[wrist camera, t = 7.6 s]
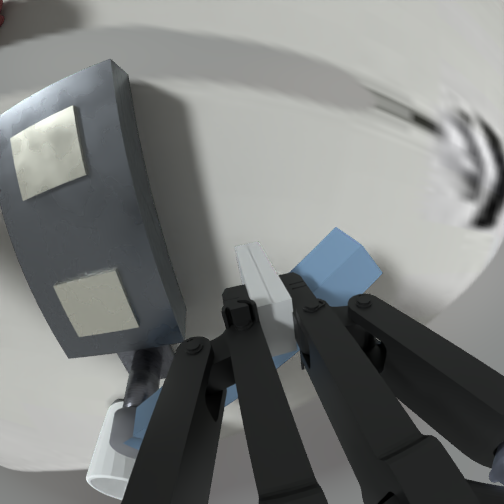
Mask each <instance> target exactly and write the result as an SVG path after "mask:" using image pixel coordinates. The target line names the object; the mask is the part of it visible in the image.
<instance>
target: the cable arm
mask: <svg viewBox="0 0 504 504" xmlns="http://www.w3.org/2000/svg"><path fill="white" fill-rule="evenodd" d="M291 272H294V273H296V274H298V275H300V276H301V277H302V279H303V280H304V282H305V283H306V284H307V286H308V287H309V288H310V290H311V291H312V292H313V294H314V295H315V297H316V298H319V299H322V300H324V301H326V302H327V303H328V304H329V306H332V307H338V306H348V301H349V299H350V298H351V297H352V296H354V295H357V294H362V293H364V292H365V291H366V290H367V289H368V288H369V287H370V286H371V285H372V284H373V283H374V282H375V281H376V279H377V278H378V277H379V276H380V275H381V274H382V271H381V270H380V269H379V267H378V266H377V265H376V263H375V262H374V260H373V259H372V258H371V256H370V255H369V254H368V252H367V251H366V250H365V248H364V247H363V246H362V245H361V244H360V243H359V242H357V241H356V240H354V239H353V238H351V237H350V236H348V235H347V234H346V233H344V232H343V231H341V230H340V229H338V228H337V227H335V228H334V229H333V230H332V231H331V232H330V233H329V234H328V235H327V236H326V237H325V238H324V239H323V240H322V241H321V242H320V243H319V244H318V245H317V246H316V247H315V248H314V249H313V250H312V251H311V252H310V253H309V254H308V255H307V256H306V257H305V258H304V259H303V260H302V261H301V262H300V263H299V264H298V265H297V266H296V267H295V268H294V269H293V270H291V271H290V272H289V273H291ZM296 343H297V342H296ZM299 350H300V348H299V346H298V344H297V350H296V351H292V352H289V353H285V354H281V355H277V356H274V357H272V359H273V361H274V364H275V367H276V369H277V368H278V367H280V366H281V365H282V364H283V363H285V362H286V361H287V360H288V359H290V358H291V357H292V356H293V355H295V354H296V353H297V352H298V351H299ZM162 387H163V386H162ZM162 387H161V388H160V389H159V390H157V391H156V392H155V393H154V394H153V395H151V396H150V397H149V398H148V399H147V400H145V401H144V402H143V403H142V404H140V405H139V406H138V407H137V408H136V407H123V408H120V409H118V410H117V411H116V412H115V414H114V418H113V424H112V429H111V434H110V440H109V444H110V446H111V447H112V448H113V449H114V450H115V451H117V452H118V453H120V454H122V455H124V456H127V457H130V458H133V459H136V458H137V455H138V452H139V449H140V446H141V443H142V441H143V438H144V435H145V432H146V429H147V427H148V424H149V421H150V419H151V416H152V413H153V410H154V408H155V405H156V402H157V400H158V397H159V394H160V392H161V389H162ZM237 398H238V394H237V388H236V384H234V385H232V386H230V387H228V388H227V395H226V400H225V406H227V405H228V404H230V403H231V402H233V401H234V400H235V399H237ZM225 406H224V407H225Z"/></svg>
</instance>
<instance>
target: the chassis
mask: <svg viewBox="0 0 504 504" xmlns="http://www.w3.org/2000/svg"><path fill="white" fill-rule="evenodd" d="M0 206H1V209H2V213H3V216H4V220H5V223H6V226H7V230H8V233H9V236H10V239H11V242H12V244H13V247H14V250H15V253H16V255H17V258H18V261H19V263H20V266H21V268H22V271H23V273H24V275H25V278H26V280H27V282H28V284H29V287H30V289H31V291H32V293H33V295H34V297H35V299H36V302H37V304H38V306H39V308H40V310H41V311H42V313H43V315H44V317H45V319H46V321H47V323H48V325H49V326H50V328H51V330H52V332H53V334H54V335H55V337H56V339H57V340H58V342H59V344H60V345H61V347H62V349H63V350H64V352H65V354H66V355H67V357H68V358H78V357H88V356H96V355H104V354H112V353H120V352H127V351H133V350H140V349H146V348H152V347H158V346H164V345H170V344H175V343H181V342H183V341H185V321H186V307H185V304H184V301H183V298H182V295H181V292H180V289H179V286H178V283H177V280H176V277H175V274H174V271H173V268H172V265H171V261H170V258H169V255H168V251H167V248H166V245H165V241H164V238H163V234H162V231H161V227H160V223H159V220H158V216H157V212H156V209H155V205H154V201H153V197H152V193H151V189H150V185H149V181H148V177H147V172H146V168H145V163H144V159H143V154H142V150H141V145H140V140H139V135H138V130H137V125H136V119H135V114H134V108H133V102H132V96H131V90H130V84H129V77H128V74H127V73H126V72H125V71H124V70H122V69H121V68H120V67H119V66H118V65H117V64H116V63H115V62H114V61H112V60H111V59H108V60H106V61H103V62H101V63H98V64H95V65H93V66H90V67H88V68H86V69H84V70H81V71H79V72H76V73H74V74H72V75H70V76H68V77H66V78H64V79H62V80H60V81H57V82H56V83H54V84H52V85H50V86H48V87H46V88H44V89H42V90H40V91H39V92H37V93H35V94H33V95H32V96H30V97H28V98H26V99H25V100H23V101H21V102H20V103H18V104H17V105H15V106H13V107H12V108H10V109H9V110H7V111H6V112H4V113H3V114H1V115H0Z"/></svg>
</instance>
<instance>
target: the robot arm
mask: <svg viewBox="0 0 504 504" xmlns="http://www.w3.org/2000/svg"><path fill="white" fill-rule="evenodd" d="M235 252H236V257H237V262H238V266H239V271H240V276H241V280H242V285H239V286H235V287H231V288H226V289H225V290H224V292H223V294H222V297H223V304H224V306H223V308H222V316H223V319H224V323H225V326H226V330H225V331H224V333H223V334H222V335H220V336H219V337H217V338H216V339H214V340H211V341H209V340H208V339H206V338H204V337H192V338H189V339H187V340H185V341H183V342H182V343H181V344H180V345H179V347H178V348H177V351H176V353H175V356H174V358H173V361H172V363H171V366H170V368H169V371H168V374H167V376H166V379H165V381H164V384H163V387H162V389H161V392H160V394H159V397H158V400H157V402H156V405H155V408H154V410H153V413H152V416H151V419H150V421H149V424H148V427H147V429H146V432H145V435H144V438H143V441H142V443H141V446H140V449H139V452H138V455H137V458H136V460H135V463H134V466H133V469H132V472H131V475H130V478H129V481H128V484H127V487H126V490H125V493H124V496H123V499H122V503H121V504H208V500H209V494H210V488H211V482H212V476H213V470H214V465H215V459H216V453H217V447H218V441H219V435H220V429H221V424H222V418H223V412H224V406H225V400H226V395H227V388H228V387H230V386H232V385H234V384H236V388H237V394H238V399H239V405H240V410H241V415H242V420H243V425H244V430H245V435H246V440H247V445H248V449H249V454H250V459H251V463H252V468H253V473H254V477H255V481H256V486H257V490H258V494H259V504H328V502H327V500H326V497H325V495H324V492H323V490H322V488H321V486H319V484H318V483H317V481H316V478H315V476H314V473H313V470H312V468H311V465H310V462H309V460H308V457H307V454H306V452H305V449H304V446H303V443H302V440H301V438H300V435H299V432H298V429H297V427H296V424H295V421H294V418H293V415H292V413H291V410H290V407H289V404H288V401H287V399H286V396H285V393H284V390H283V387H282V384H281V381H280V379H279V376H278V373H277V370H276V367H275V364H274V361H273V359H272V357H274V356H277V355H281V354H285V353H289V352H292V351H296V350H297V344H298V346H299V348H300V356H301V367H302V370H303V369H304V366H305V368H306V370H307V372H308V374H309V376H310V379H311V381H312V383H313V385H314V387H315V389H316V392H317V394H318V396H319V398H320V400H321V402H322V405H323V407H324V409H325V411H326V413H327V415H328V417H329V420H330V422H331V424H332V426H333V428H334V430H335V432H336V435H337V437H338V439H339V441H340V443H341V445H342V448H343V450H344V452H345V454H346V456H347V458H348V461H349V463H350V465H351V467H352V469H353V471H354V473H355V476H356V478H357V480H358V482H359V484H360V487H361V491H362V498H363V502H364V504H504V486H497V485H492V484H486V483H481V482H476V481H472V480H467V479H465V478H464V476H463V475H462V473H461V472H460V470H459V469H458V467H457V466H456V464H455V463H454V461H453V460H452V458H451V457H450V455H449V454H448V453H447V451H446V450H445V448H444V447H443V445H442V444H441V442H440V441H439V440H438V439H437V438H436V437H434V436H432V435H423V434H421V433H420V431H419V430H418V429H417V427H416V426H415V424H414V423H413V421H412V420H411V418H410V417H409V415H408V414H407V413H406V411H405V410H404V408H403V407H402V406H401V404H400V402H399V401H398V399H399V400H400V401H401V402H402V403H403V404H405V405H406V406H407V407H408V408H410V409H411V410H412V411H413V412H414V413H415V414H417V415H418V416H419V417H420V418H421V419H422V420H424V421H425V422H426V423H427V424H428V425H430V426H431V427H432V428H433V429H434V430H436V431H437V432H438V433H439V434H440V435H442V436H443V437H444V438H445V439H447V440H448V441H449V442H450V443H451V444H453V445H454V446H455V447H456V448H457V449H459V450H460V451H461V452H462V453H464V454H465V455H466V456H468V457H469V458H470V459H472V460H473V461H475V462H477V463H479V464H481V465H483V466H486V467H489V468H492V470H491V472H490V473H489V479H490V481H491V482H494V483H495V482H498V481H499V482H500V483H502V484H503V485H504V376H503V375H501V374H499V373H498V372H497V371H495V370H493V369H492V368H490V367H489V366H487V365H486V364H484V363H483V362H481V361H479V360H478V359H476V358H475V357H473V356H472V355H470V354H469V353H467V352H465V351H464V350H462V349H461V348H459V347H457V346H456V345H454V344H453V343H451V342H449V341H448V340H446V339H445V338H443V337H441V336H440V335H438V334H437V333H435V332H433V331H432V330H430V329H429V328H427V327H425V326H424V325H422V324H420V323H419V322H417V321H415V320H414V319H412V318H411V317H409V316H407V315H406V314H404V313H402V312H401V311H399V310H397V309H396V308H394V307H392V306H391V305H389V304H387V303H386V302H384V301H382V300H381V299H379V298H377V297H376V296H373V295H371V294H357V295H354V296H352V297H351V298H350V299H349V301H348V306H338V307H332V306H329V304H328V303H327V302H326V301H324V300H322V299H319V298H316V297H315V295H314V294H313V292H312V291H311V290H310V288H309V287H308V286H307V284H306V283H305V282H304V280H303V279H302V277H301V276H300V275H298V274H296V273H294V272H291V273H287V274H283V275H279V276H278V274H277V272H276V271H275V269H274V267H273V265H272V264H271V262H270V260H269V258H268V257H267V255H266V253H265V252H264V250H263V248H262V246H261V245H260V243H259V241H258V242H253V243H249V244H244V245H240V246H235ZM376 338H377V339H379V340H380V341H381V342H380V341H378V340H377V339H376ZM296 342H297V343H296ZM397 398H398V399H397Z"/></svg>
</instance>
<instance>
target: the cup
mask: <svg viewBox="0 0 504 504" xmlns="http://www.w3.org/2000/svg"><path fill="white" fill-rule="evenodd" d="M123 402H124V401H123V400H120V399H117V400H116V401H115V402H114V403H113V404H112V405H111V406H110V407H109V409H108V412H107V414H106V417H105V420H104V423H103V426H102V429H101V432H100V434H99V437H98V440H97V444H96V447H95V450H94V453H93V456H92V459H91V463H90V466H89V469H88V473H87V476H86V480H87V482H88V483H89V484H90V485H91V486H92V487H93V488H95V489H96V490H98V491H100V492H102V493H103V494H106V495H108V496H111V497H113V498H117V499H120V500H122V499H123V496H124V493H125V490H126V487H127V484H128V481H129V478H130V475H131V472H132V469H133V466H134V463H135V460H136V459H133V458H130V457H127V456H124V455H122V454H120V453H118V452H117V451H115V450H114V449H113V448H112V447H111V446H110V444H109V440H110V434H111V429H112V424H113V418H114V414H115V412H116V411H117V410H118V409H120V408H122V407H123Z"/></svg>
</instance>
